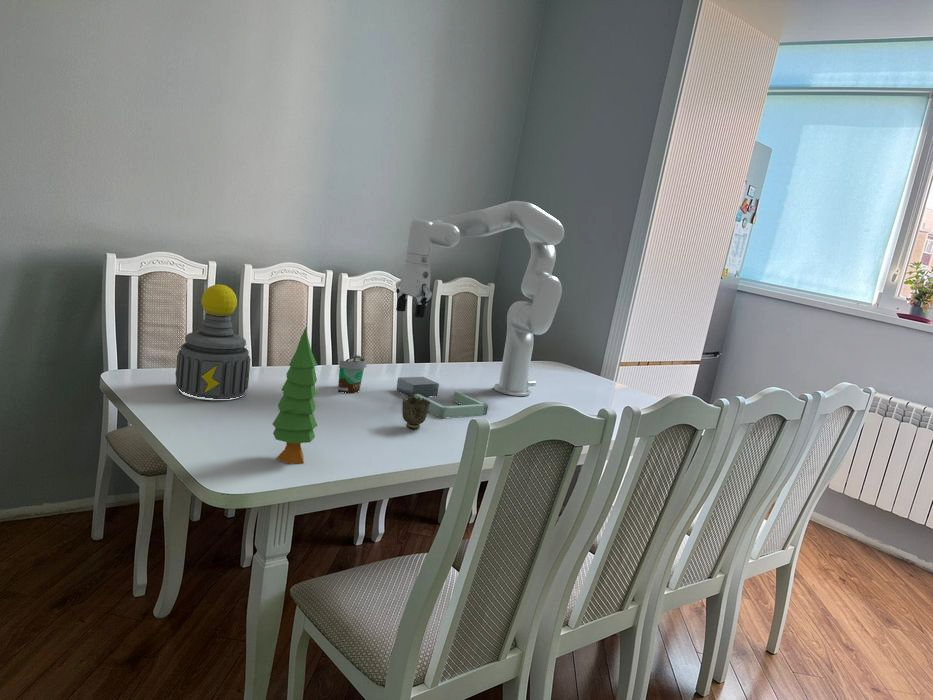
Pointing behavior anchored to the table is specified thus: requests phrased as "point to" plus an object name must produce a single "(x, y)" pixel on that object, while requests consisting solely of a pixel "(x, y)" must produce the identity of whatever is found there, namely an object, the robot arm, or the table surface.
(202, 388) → the decorative lamp
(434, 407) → the bay
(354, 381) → the food container
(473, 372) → the table surface
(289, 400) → the decorative tree
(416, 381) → the gray rectangular block
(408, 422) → the cup
